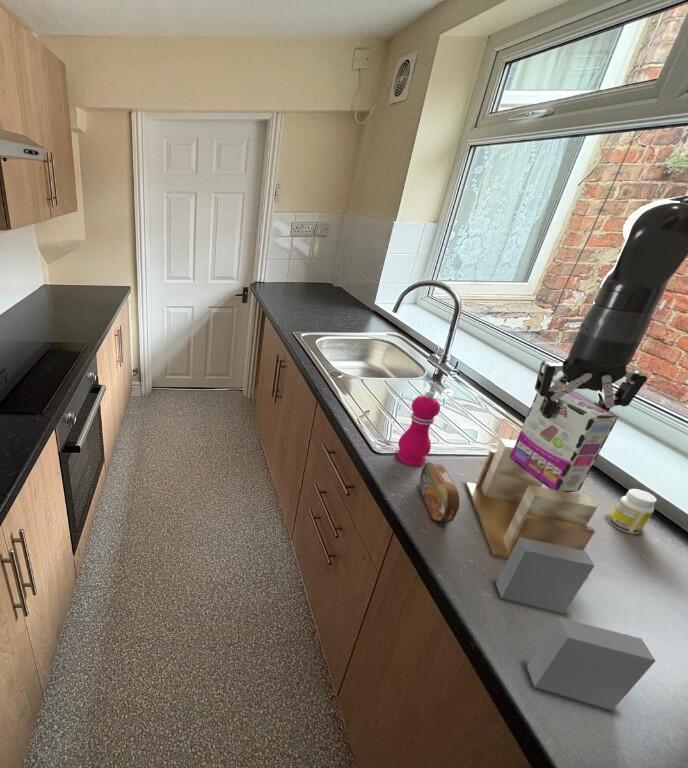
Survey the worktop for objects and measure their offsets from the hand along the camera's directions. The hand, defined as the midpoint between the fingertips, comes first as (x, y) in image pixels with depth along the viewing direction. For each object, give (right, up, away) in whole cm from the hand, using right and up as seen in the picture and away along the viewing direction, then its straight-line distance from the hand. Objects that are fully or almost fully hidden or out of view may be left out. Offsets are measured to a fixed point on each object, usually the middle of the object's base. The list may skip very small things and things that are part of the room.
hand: (568, 419), depth 76 cm
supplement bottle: (+22, -24, +12) cm, 35 cm away
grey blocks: (-13, -35, -9) cm, 38 cm away
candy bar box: (0, -11, +6) cm, 13 cm away
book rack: (0, -24, +12) cm, 26 cm away
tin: (-14, -21, +18) cm, 31 cm away
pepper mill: (-11, -13, +33) cm, 37 cm away
